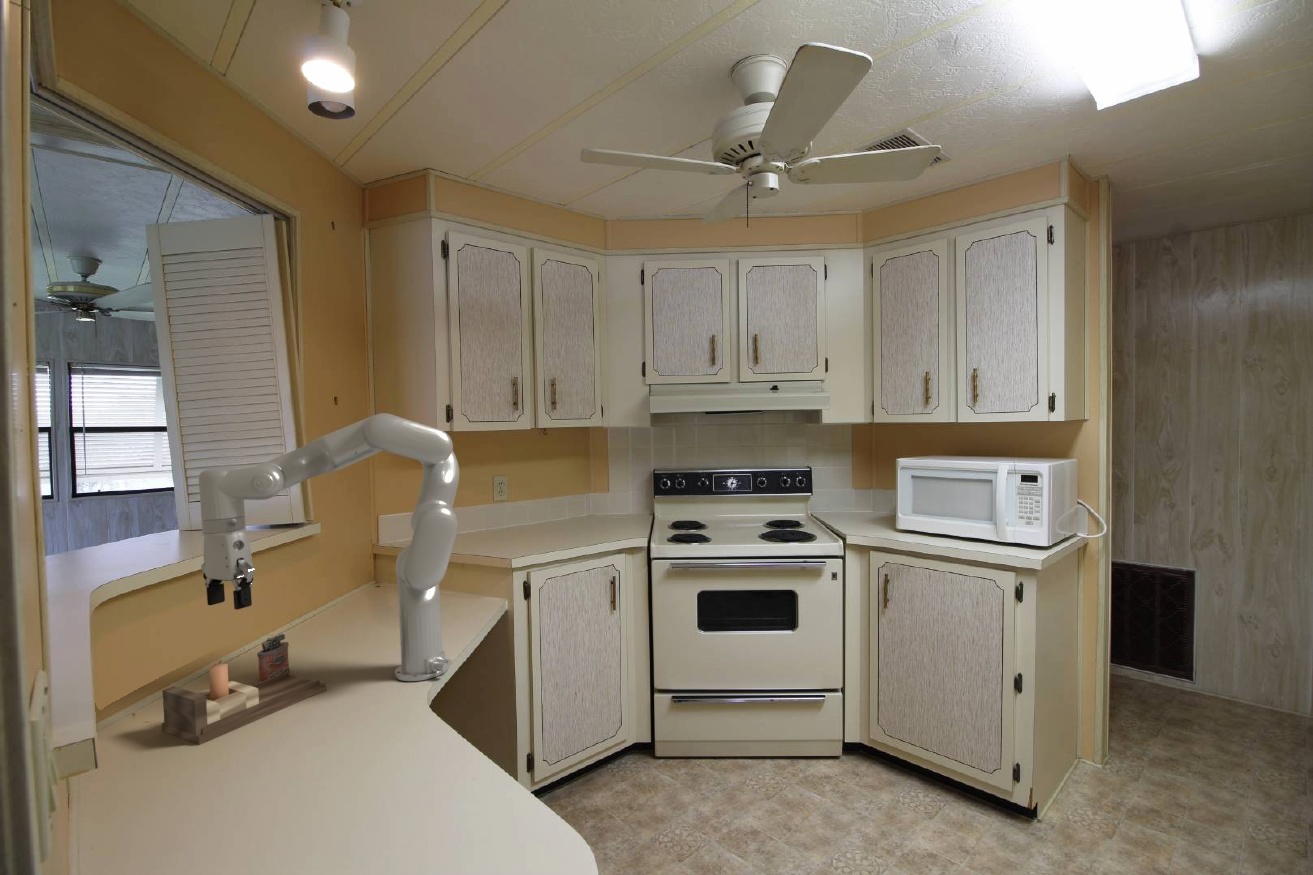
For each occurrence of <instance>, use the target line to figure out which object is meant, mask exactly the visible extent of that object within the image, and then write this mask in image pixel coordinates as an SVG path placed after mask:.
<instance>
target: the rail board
mask: <svg viewBox="0 0 1313 875" xmlns="http://www.w3.org/2000/svg"><path fill="white" fill-rule="evenodd" d="M250 686H252V687H255V688H258V695H259V704H257V705H255V706H252V707H250V708H247V709H245V710H242V711H240V712H238V713H235V714H233V715H230V716H228V717H225V718H223V719H221V720H218V721H216V722H213V723H211V724H208V725H207V705H206V696H204V695H200V694H197V693H198V692H194V691H190V690H187V689H184V688H181V687H178V686H174V685H173V686H171V687H168V688H165V689H162V703H163V722H162V723H161V730H162V732H165V733H167V734H170V735H173V736H174V737H175V736H176V737H178V738H180V739H183V740H185V741H188V742H191V743H194V744H196V745H199V746H200V745H203V744H205V743H207V742H209V741H212V740H214V739H216V738H219V737H221V736H223V735H226V734H228V733H231V732H232V731H235V730H237V729H240V728H242V727H243V726H246V725H249V724H251V723H254V722H256V721H258V720H261V719H263V718H265V717H267V716H270V715H271V714H273V713H276V712H279V711H282V710H283V709H285V708H288V707H290V706H292V705H295V704H297V703H299V702H301V701H304V700H307V699H309V698H310V697H313V696H316V695H318V694H320V693H322V692H325V691H326V690H327V683H326V682H321V681H320V680H319V679H316V680H313V679H309V678H305V677H302V676H298V675H294V674H290V673H288V672H285V673H283V674H280V675H278V676H275V677H272V678H270V679H267V680H265V681H262V682H259V681H258V682H257V683H255V684H251V685H250Z"/></svg>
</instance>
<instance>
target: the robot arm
mask: <svg viewBox="0 0 1313 875" xmlns="http://www.w3.org/2000/svg"><path fill="white" fill-rule="evenodd" d="M452 440H453V439H452V438H451V436H450V435H449V434H448V433H447V432H445V431H443V430H442V429H440V428H437V427H433V426H430V425H427V424H424V423H423V424H422V423H420V422H416V421H413V420H410V419H407V418H403V417H402V416H401V417H400V416H397V415H394V414H392V413H388V412H387V413H385V412H383V413H377V414H374V415H372V416H369V417H367V418H364V419H361V420H359V421H357V422H354V423H352V424H348V425H347V426H345V427H342V428H340V429H337V430H334V431H333V432H330V433H327V434H324V435H322V436H320V437H317V438H316V439H313V440H312V441H310V442H309V443H306V444H305V445H303V446H301V447H298V448H296V449H294V450H292V451H288V452H286V453H285V454H282V455H280V456H277V457H275V458H273V459H270V460H267V461H264V462H262V463H259V464H257V465H254V466H250V467H244V468H235V467H221V468H209V469H205V470H203V471H201V472H200V473H199V474H198V490H199V491H198V492H199V504H200V505H199V506H200V517H201V529H202V530H201V532H202V534H201V535H202V536H203V563H202V564H201V565H200V569H201V571H202V576H203V579H204V581H205V582H204V586H205V587H206V601H207V602H206V603H207V605H208V606H214V605H217V604H220V603H224V602H225V601H226V596H225V594H226V593H225V583H222V582H223V581H224V582H231V584H232V586H233V587H234V589H235V590H233V593H232V594H233V595H232V596H233V607H234V610H236V611H237V610H242V609H245V608H248V607H251V606H252V604H253V603H252V601H253V600H252V586H253V584H252V583H253V581H254V577H253V576H254V574H255V568H254V566H253V558H252V555H253V554H252V548H251V544H250V541H249V536H248V534H247V530H246V514H245V501H247V500H248V501H249V500H251V501H252V500H253V501H263V500H264V501H265V500H270V499H273V498H275V497H276V496H278V495H279V493H280V492H282V491H284V490H286V489H289V488H291V487H293V486H295V485H298V484H300V483H302V482H305V481H307V480H309V479H312V478H315V477H318V476H322V475H326V474H330V473H335V472H337V471H340V470H342V469H344V468H346V467H350V466H351V465H353V464H355V463H359V462H360V461H363V460H364V459H367V458H369V457H372V456H374V455H376V454H378V453H380V452H383V451H384V452H387V453H391V454H394V455H396V456H401V457H404V458H408V459H411V460H416V461H418V462H419V463H421V466H422V469H423V474H422V476H423V477H422V481H421V486H420V489H419V493H418V495H417V496H418V497H417V501H416V503H415V505H414V506H415V507H414V510H413V512H412V515H411V518H410V525H411V526H410V527H411V530H412V531H413V534H412V539H411V542H410V544H408V545H407V546H405V547H404V548H403V549H401V551H400V552H399V554H398V555H397V557H396V562H395V573H396V574H395V576H396V584H397V594H398V596H397V597H398V619H399V621H398V622H399V639H400V644H399V645H400V662H401V664H400V665H398V667H396V668H395V670H394V676H395V678H396V679H397V680H400V681H402V682H421V681H424V680H426V681H427V680H429V679H432V678H436V677H438V676H439V677H440V675H443V674H445V673H446V672H447V671H448V670H449V669H450V666H451V665H452V664H453V660H452V659H448V658H446V651H443V636H442V635H443V634H442V614H441V590H440V583H441V582H442V580H443V578H444V577H445V574H446V572H447V569H448V566H449V562H450V558H451V555H452V552H453V550H454V546H455V543H456V538H457V535H458V530H459V529H458V528H459V527H458V525H459V521H458V517H457V514H456V513H455V512H454V510H453V507H454V503H455V499H456V495H457V491H458V488H459V487H458V486H459V482H460V467H459V463H458V459H457V456H456V454H455V452H454V451H453V449H454V443H453V441H452Z"/></svg>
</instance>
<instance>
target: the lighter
mask: <svg viewBox="0 0 1313 875" xmlns="http://www.w3.org/2000/svg"><path fill="white" fill-rule="evenodd" d="M285 639H286V635H285V634H284V633H281V634H279V635H278V634H277V635H276V636H274V637H268V638H267V639H266V640H265V641H264V642H262V643H261V648H262V650H260V651H259V652H257V654H256V655H257V658H258V677H259V679H258V683H259V682H262V681H265V680H267V679H270V678H272V677H275V676H278V675H280V674H283V673H285V672H288V673H289V674H290V673H291V668H290V667H289V666H290V665H289V663H290V661H289V642H288V641H287V642H286V641H284V640H285ZM281 641H283V642H281Z"/></svg>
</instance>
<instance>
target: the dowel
mask: <svg viewBox="0 0 1313 875" xmlns="http://www.w3.org/2000/svg"><path fill="white" fill-rule="evenodd" d="M228 668H229V667H228V663H217V664H214V665H211V666H210V667H208V683H209V685H208V686H209V689H210V701H214V700H217V699H220V698H222V697H225V696H227V695H229V684H228V682H229V670H228Z"/></svg>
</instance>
